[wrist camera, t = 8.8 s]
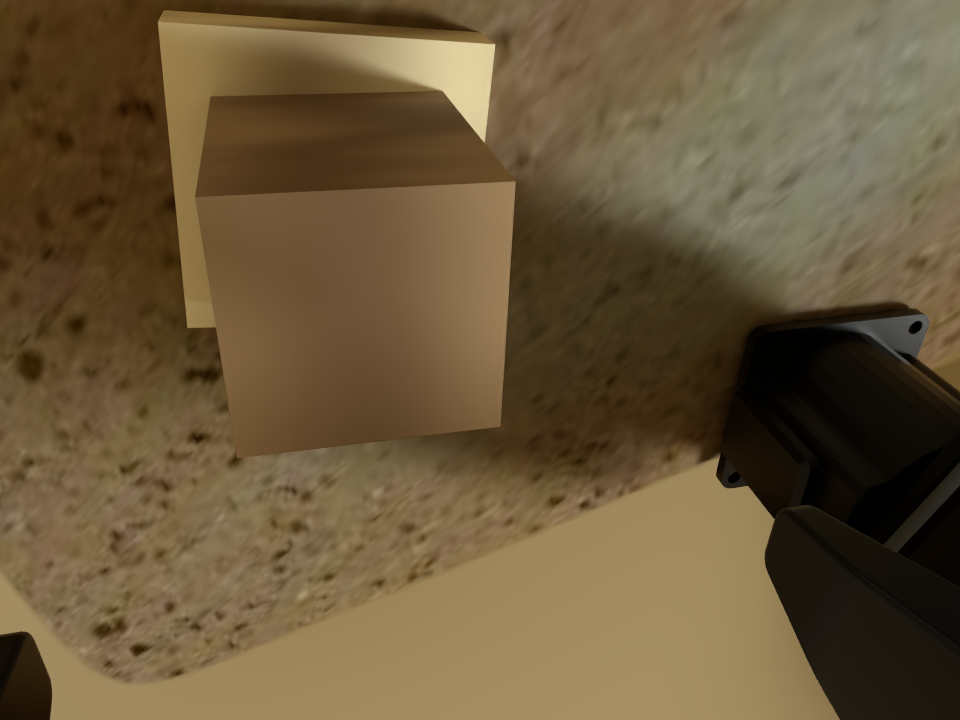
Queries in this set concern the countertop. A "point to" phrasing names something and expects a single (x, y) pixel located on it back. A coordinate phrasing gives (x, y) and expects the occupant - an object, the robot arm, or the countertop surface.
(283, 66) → the birch block
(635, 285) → the countertop surface
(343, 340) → the walnut cube
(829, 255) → the countertop surface
